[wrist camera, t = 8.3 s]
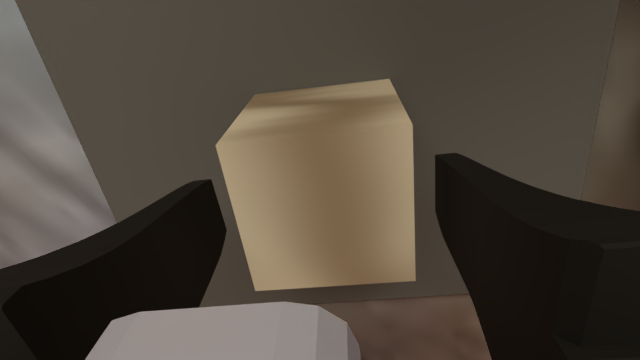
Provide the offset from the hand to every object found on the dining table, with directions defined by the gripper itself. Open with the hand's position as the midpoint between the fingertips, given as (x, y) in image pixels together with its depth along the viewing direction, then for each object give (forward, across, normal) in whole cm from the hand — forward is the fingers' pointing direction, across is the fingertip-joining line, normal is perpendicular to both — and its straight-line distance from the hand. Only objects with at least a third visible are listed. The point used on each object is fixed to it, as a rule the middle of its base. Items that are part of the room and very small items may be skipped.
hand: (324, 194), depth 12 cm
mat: (+4, 0, 0) cm, 4 cm away
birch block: (+3, 0, 0) cm, 3 cm away
